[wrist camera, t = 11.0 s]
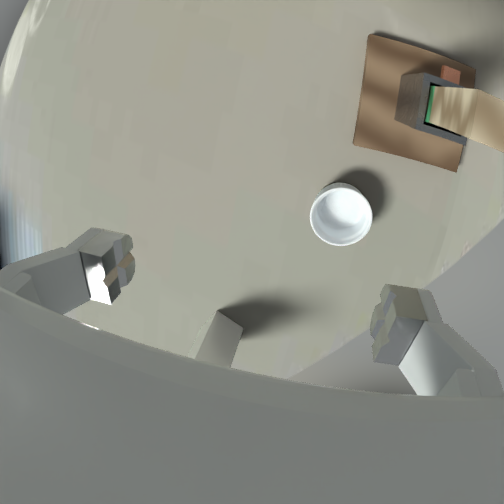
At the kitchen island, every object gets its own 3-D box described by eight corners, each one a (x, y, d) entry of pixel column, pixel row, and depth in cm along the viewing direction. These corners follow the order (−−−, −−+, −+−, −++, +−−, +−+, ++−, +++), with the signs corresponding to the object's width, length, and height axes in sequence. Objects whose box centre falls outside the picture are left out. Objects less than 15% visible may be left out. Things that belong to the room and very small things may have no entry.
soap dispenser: (235, 348, 66) (205, 436, 47) (201, 326, 64) (160, 411, 46) (252, 334, 62) (224, 427, 44) (216, 310, 61) (176, 400, 42)
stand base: (367, 36, 33) (370, 34, 31) (470, 69, 31) (475, 69, 29) (352, 142, 41) (354, 145, 39) (451, 168, 39) (456, 172, 37)
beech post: (421, 85, 28) (478, 88, 16) (451, 96, 28) (517, 107, 15) (415, 117, 30) (469, 139, 18) (445, 127, 30) (508, 155, 17)
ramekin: (374, 225, 46) (378, 238, 43) (320, 239, 49) (319, 252, 46) (360, 172, 43) (364, 180, 39) (303, 187, 46) (301, 197, 42)
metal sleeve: (402, 64, 32) (425, 58, 23) (444, 78, 31) (477, 78, 23) (394, 119, 36) (415, 129, 27) (435, 131, 35) (465, 145, 27)
